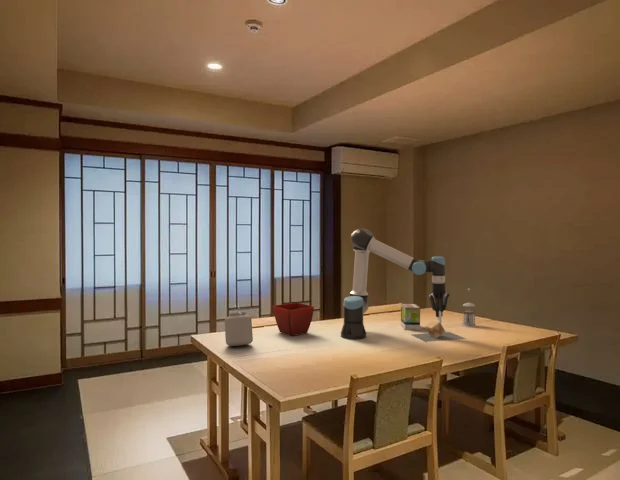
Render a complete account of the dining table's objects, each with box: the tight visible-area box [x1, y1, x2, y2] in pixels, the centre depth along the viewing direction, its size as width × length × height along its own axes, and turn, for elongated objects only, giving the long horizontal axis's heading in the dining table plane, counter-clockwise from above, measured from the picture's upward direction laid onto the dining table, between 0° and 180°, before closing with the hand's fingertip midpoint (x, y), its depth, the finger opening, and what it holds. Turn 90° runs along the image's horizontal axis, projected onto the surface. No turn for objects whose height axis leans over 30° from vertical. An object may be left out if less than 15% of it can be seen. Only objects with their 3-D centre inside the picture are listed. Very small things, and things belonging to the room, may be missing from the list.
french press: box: [460, 288, 477, 328], centre depth 299 cm, size 10×12×25 cm
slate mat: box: [411, 331, 467, 343], centre depth 268 cm, size 26×18×1 cm
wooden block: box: [424, 319, 446, 338], centre depth 267 cm, size 7×7×7 cm
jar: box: [224, 305, 254, 347], centre depth 249 cm, size 19×15×25 cm
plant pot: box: [272, 302, 315, 337], centre depth 279 cm, size 19×19×17 cm
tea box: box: [400, 303, 421, 331], centre depth 294 cm, size 15×10×15 cm
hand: (439, 322), depth 268 cm, fingers closed
